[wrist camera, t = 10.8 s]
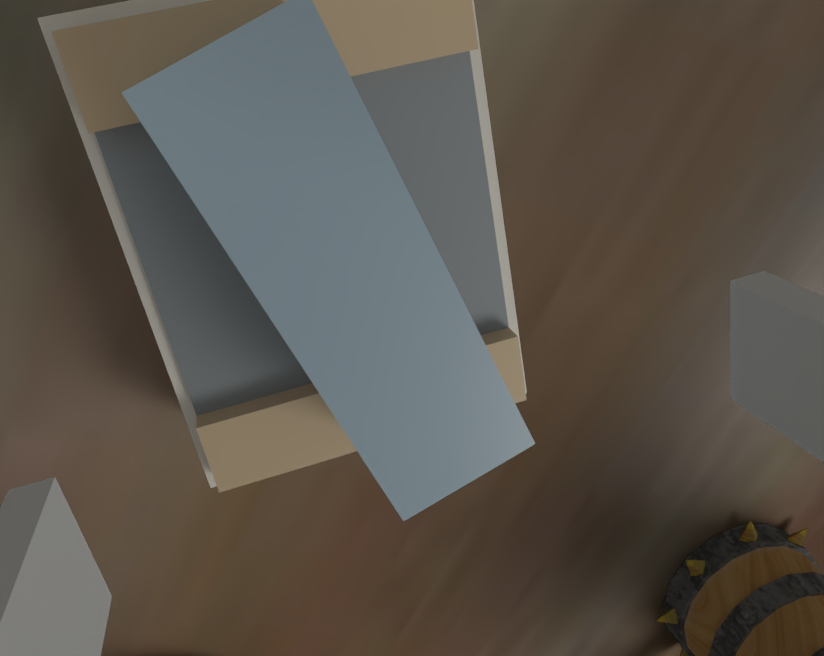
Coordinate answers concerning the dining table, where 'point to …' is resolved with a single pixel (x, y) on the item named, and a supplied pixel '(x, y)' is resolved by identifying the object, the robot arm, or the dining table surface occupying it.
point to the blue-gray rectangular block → (334, 250)
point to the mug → (748, 596)
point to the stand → (207, 259)
